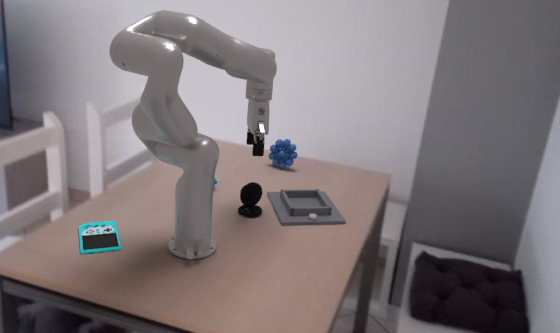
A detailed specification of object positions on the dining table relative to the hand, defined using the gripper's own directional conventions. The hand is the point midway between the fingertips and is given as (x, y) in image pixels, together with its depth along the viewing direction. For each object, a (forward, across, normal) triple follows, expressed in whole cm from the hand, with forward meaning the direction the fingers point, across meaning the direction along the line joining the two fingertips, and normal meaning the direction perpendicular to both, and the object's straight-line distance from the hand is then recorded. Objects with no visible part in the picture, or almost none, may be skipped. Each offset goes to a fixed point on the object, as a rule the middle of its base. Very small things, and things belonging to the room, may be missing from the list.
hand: (254, 150), depth 158 cm
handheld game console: (+21, -13, +43) cm, 50 cm away
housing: (+20, +2, -18) cm, 27 cm away
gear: (+21, +20, +13) cm, 31 cm away
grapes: (+21, +37, -19) cm, 46 cm away
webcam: (+21, 0, 0) cm, 21 cm away
